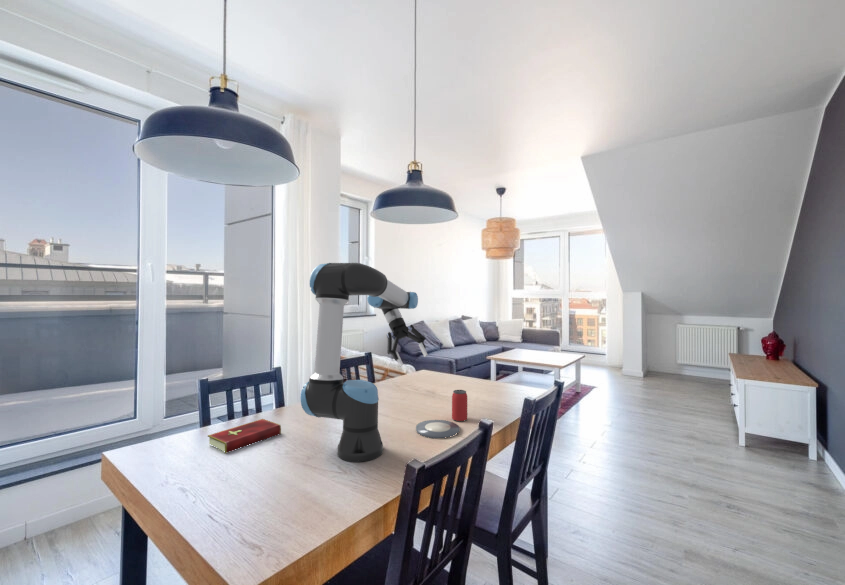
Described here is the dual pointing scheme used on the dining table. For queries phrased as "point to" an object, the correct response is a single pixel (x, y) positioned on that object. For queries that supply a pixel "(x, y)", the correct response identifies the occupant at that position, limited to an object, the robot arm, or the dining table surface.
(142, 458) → the dining table surface
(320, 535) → the dining table surface
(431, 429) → the plate
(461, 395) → the beer can
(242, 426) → the hardcover book
